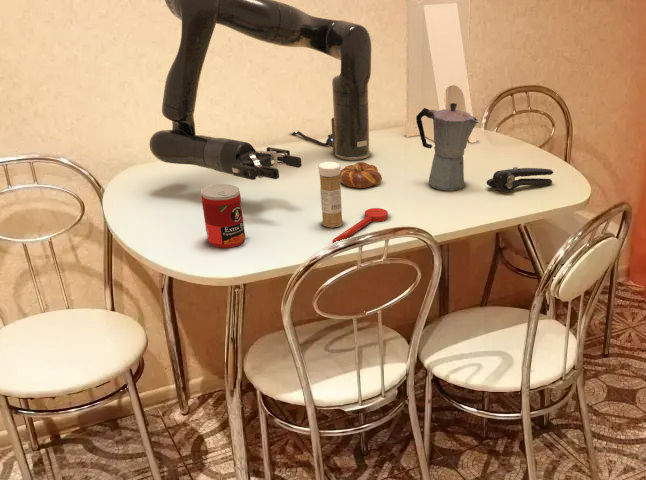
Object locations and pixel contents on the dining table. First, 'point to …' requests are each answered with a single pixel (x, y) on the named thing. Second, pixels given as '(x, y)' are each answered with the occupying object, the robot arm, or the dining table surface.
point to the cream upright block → (436, 60)
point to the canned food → (223, 215)
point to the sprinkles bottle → (330, 194)
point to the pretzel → (360, 175)
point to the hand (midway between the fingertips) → (289, 168)
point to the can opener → (507, 181)
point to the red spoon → (364, 222)
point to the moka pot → (448, 145)
